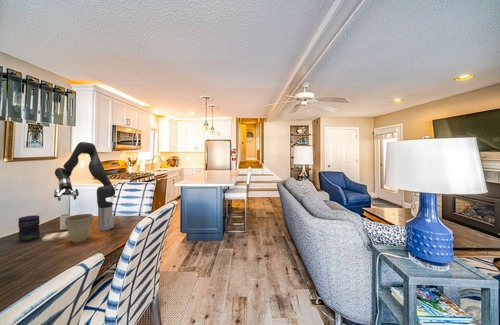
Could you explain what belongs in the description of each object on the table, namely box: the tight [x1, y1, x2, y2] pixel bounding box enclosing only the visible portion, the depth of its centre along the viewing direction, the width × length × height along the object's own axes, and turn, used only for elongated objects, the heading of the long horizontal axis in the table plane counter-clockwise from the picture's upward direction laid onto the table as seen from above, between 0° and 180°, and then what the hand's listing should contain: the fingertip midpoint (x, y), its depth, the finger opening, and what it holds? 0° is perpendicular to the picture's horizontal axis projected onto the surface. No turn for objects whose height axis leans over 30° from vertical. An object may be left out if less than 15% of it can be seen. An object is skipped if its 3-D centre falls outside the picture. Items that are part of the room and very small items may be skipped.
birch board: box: [41, 231, 70, 242], centre depth 146 cm, size 16×10×2 cm, turn 122°
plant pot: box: [64, 213, 94, 243], centre depth 140 cm, size 15×15×16 cm
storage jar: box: [17, 214, 41, 243], centre depth 140 cm, size 10×10×15 cm
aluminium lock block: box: [59, 213, 71, 232], centre depth 156 cm, size 5×6×12 cm
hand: (67, 199), depth 158 cm, fingers open, 8 cm apart
